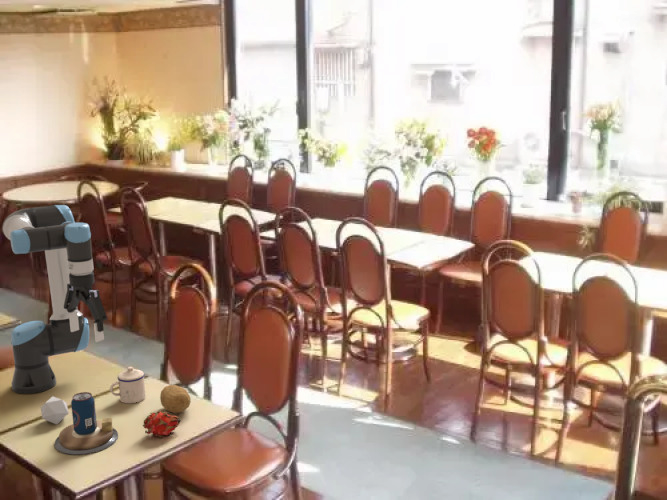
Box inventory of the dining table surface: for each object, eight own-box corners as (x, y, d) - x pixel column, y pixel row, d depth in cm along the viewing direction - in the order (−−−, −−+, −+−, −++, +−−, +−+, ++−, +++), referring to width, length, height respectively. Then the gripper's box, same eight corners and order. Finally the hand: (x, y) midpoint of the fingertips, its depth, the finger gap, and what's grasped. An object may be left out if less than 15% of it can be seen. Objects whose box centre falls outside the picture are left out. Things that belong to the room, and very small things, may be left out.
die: (75, 421, 268) (70, 393, 271) (59, 419, 260) (55, 391, 263) (53, 429, 269) (50, 401, 273) (37, 427, 261) (33, 398, 265)
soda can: (70, 430, 253) (67, 395, 251) (92, 424, 258) (88, 389, 255) (79, 438, 248) (75, 402, 245) (100, 432, 252) (97, 396, 249)
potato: (180, 399, 282) (179, 378, 280) (197, 414, 270) (196, 391, 268) (154, 406, 276) (152, 385, 274) (170, 421, 265) (168, 399, 263)
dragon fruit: (140, 441, 255) (178, 439, 260) (145, 436, 248) (184, 434, 253) (140, 414, 258) (177, 413, 263) (144, 408, 251) (182, 407, 256)
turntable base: (42, 443, 252) (42, 441, 252) (94, 421, 266) (94, 419, 266) (78, 461, 240) (78, 459, 240) (130, 437, 255) (130, 435, 255)
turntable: (57, 452, 244) (55, 437, 243) (61, 429, 259) (60, 415, 258) (112, 446, 247) (111, 431, 246) (113, 423, 263) (112, 409, 261)
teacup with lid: (141, 391, 289) (139, 360, 286) (149, 400, 281) (147, 369, 279) (108, 398, 283) (105, 367, 280) (115, 408, 276) (112, 376, 273)
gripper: (48, 267, 259) (54, 330, 265) (94, 282, 244) (100, 348, 249) (69, 262, 264) (75, 323, 270) (115, 276, 249) (120, 341, 255)
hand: (87, 335), depth 260 cm, fingers open, 13 cm apart
